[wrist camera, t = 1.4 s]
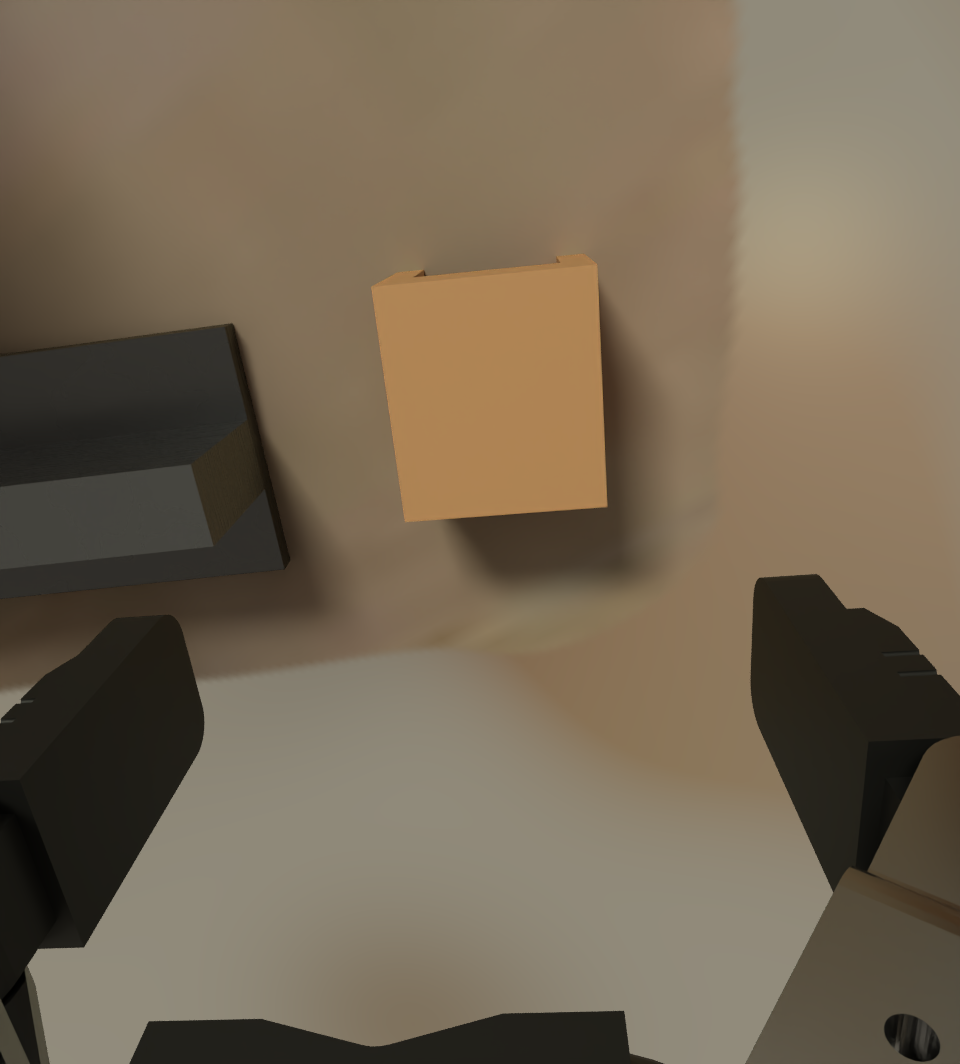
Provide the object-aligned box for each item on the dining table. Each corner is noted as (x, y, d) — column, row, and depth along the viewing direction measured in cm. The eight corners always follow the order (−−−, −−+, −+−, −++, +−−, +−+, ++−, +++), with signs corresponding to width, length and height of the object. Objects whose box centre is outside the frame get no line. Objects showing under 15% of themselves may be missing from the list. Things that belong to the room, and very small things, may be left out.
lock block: (593, 458, 29) (607, 506, 24) (423, 471, 29) (405, 521, 25) (583, 253, 26) (597, 264, 22) (397, 272, 27) (371, 287, 22)
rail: (-93, 600, 32) (-220, 682, 27) (-192, 380, 29) (-361, 422, 23) (290, 560, 31) (239, 638, 25) (232, 323, 28) (159, 353, 22)
